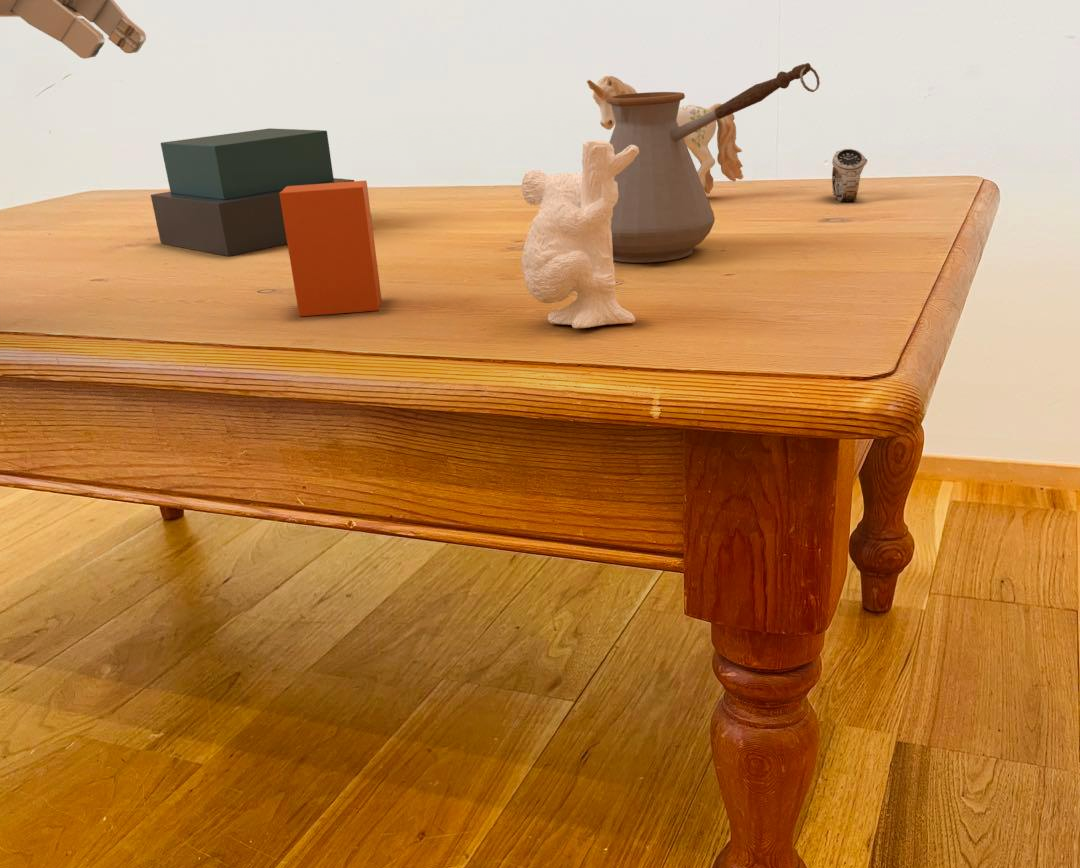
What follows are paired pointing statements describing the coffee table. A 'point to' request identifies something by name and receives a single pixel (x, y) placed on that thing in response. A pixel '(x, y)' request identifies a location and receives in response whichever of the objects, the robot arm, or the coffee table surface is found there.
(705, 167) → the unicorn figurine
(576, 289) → the koala figurine
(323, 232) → the orange block
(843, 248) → the coffee table surface
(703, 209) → the coffee pot
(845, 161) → the wristwatch
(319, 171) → the box stack
